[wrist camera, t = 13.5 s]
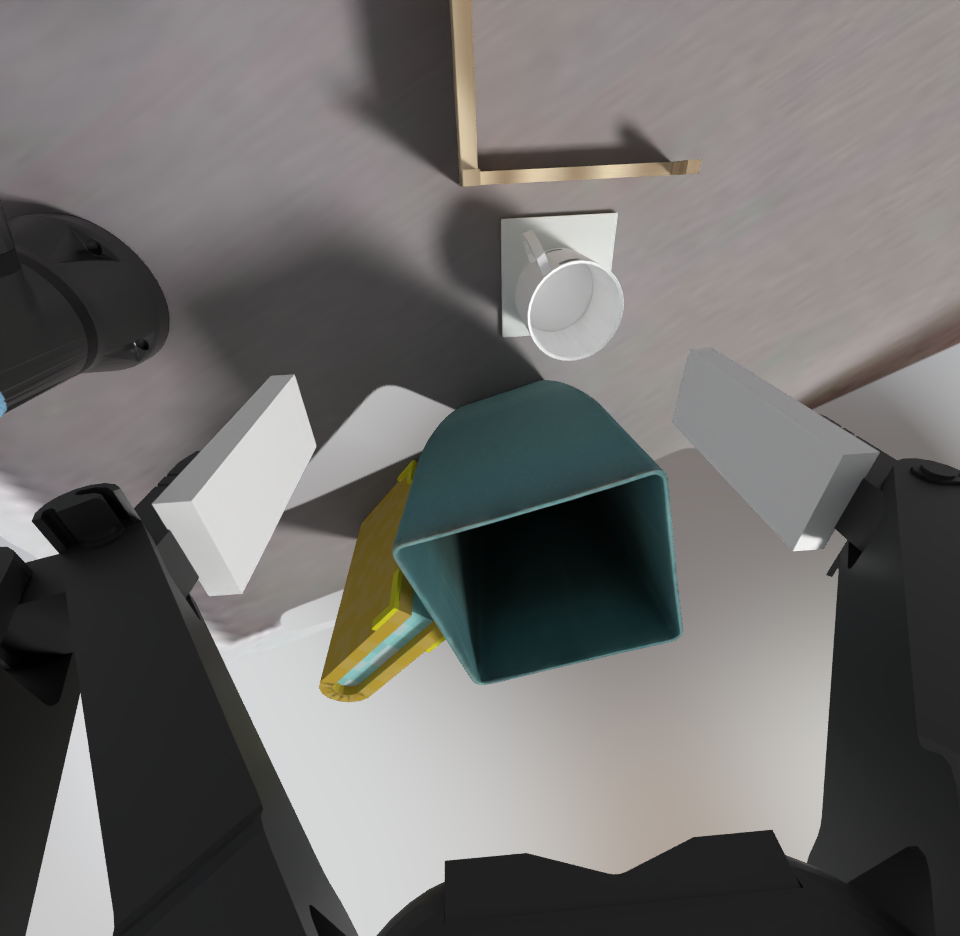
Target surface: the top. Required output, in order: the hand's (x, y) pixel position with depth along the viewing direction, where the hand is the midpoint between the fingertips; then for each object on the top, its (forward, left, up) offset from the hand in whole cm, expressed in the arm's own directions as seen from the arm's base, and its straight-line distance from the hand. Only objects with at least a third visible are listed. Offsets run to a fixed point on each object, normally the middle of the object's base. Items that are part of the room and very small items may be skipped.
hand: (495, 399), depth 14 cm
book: (-12, -34, -37) cm, 52 cm away
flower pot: (+5, -22, -37) cm, 43 cm away
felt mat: (+10, -3, -37) cm, 38 cm away
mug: (+9, -3, -36) cm, 38 cm away
